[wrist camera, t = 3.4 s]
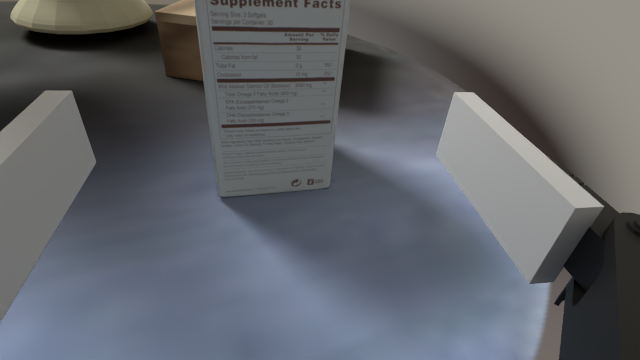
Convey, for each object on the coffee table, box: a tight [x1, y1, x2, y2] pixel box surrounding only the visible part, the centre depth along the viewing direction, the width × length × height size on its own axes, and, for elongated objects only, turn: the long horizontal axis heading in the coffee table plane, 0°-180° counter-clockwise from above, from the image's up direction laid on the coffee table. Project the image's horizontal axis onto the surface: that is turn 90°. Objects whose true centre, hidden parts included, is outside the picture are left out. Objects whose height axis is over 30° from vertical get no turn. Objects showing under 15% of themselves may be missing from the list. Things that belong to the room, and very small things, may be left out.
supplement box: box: [194, 0, 350, 197], centre depth 23 cm, size 7×7×13 cm
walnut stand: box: [155, 0, 203, 81], centre depth 41 cm, size 16×16×6 cm
